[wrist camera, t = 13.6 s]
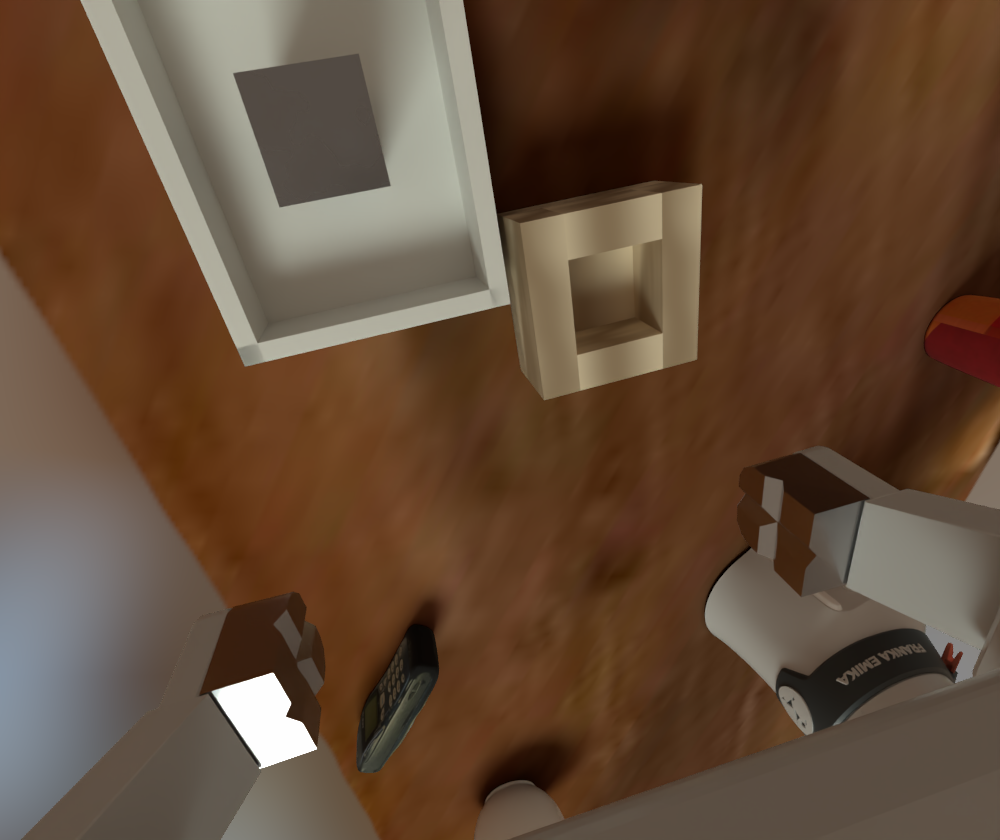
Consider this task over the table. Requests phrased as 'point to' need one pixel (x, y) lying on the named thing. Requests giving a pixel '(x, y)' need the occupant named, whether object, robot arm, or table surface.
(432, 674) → the mobile phone
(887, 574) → the robot arm
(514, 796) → the lidded jar
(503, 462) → the table surface
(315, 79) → the pin
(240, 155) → the grey tray
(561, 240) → the socket block
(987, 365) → the paper cup
